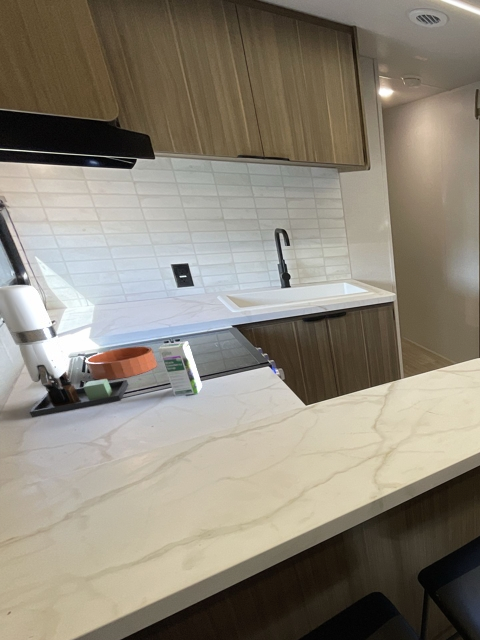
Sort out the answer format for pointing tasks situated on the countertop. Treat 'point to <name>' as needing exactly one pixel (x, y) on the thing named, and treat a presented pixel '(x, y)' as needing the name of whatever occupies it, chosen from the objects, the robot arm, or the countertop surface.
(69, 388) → the walnut block
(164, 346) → the syrup box
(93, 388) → the sage block
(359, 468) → the countertop surface
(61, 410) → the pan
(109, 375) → the bowl
